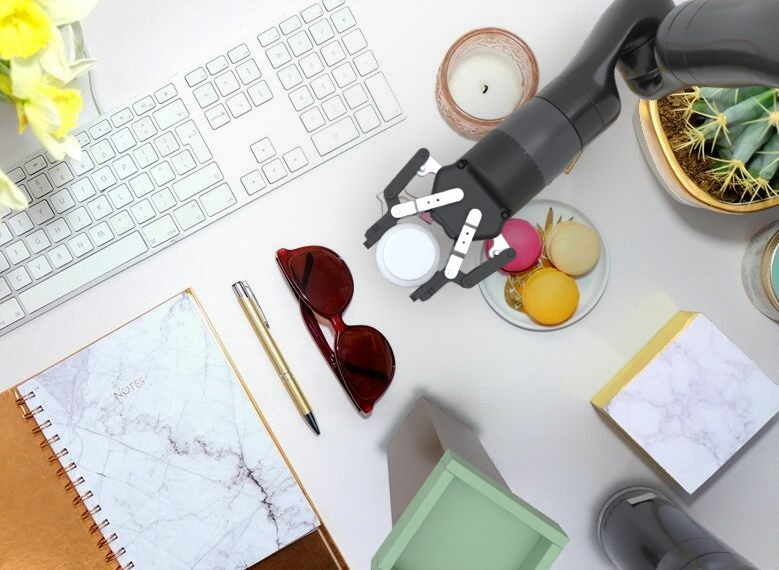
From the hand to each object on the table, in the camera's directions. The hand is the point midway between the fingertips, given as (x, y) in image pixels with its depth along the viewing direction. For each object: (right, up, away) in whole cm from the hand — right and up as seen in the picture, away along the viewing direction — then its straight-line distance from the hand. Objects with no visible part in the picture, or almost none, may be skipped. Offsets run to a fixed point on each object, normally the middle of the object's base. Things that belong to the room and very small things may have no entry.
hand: (389, 272), depth 62 cm
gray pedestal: (+5, -18, +10) cm, 22 cm away
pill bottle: (+2, +2, +6) cm, 7 cm away
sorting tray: (+5, -19, -18) cm, 26 cm away
